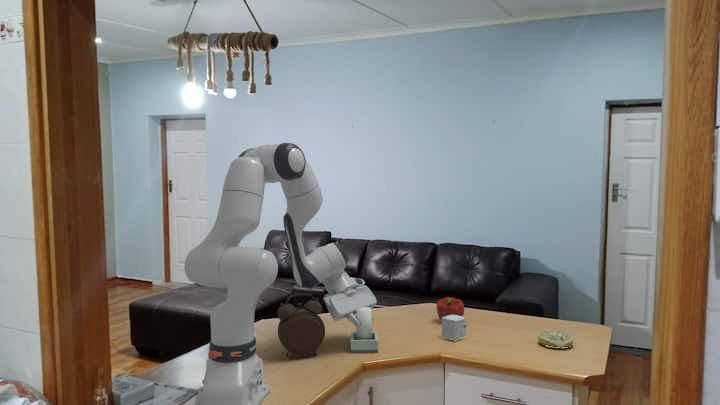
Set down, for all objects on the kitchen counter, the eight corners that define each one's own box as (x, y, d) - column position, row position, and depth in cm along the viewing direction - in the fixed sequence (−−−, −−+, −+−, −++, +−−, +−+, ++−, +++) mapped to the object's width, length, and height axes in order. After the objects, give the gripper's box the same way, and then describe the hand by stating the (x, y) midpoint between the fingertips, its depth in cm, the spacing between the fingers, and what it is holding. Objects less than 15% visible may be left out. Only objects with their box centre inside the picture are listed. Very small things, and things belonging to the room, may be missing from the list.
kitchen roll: (372, 341, 169) (371, 311, 168) (356, 341, 169) (356, 311, 168) (371, 336, 174) (371, 306, 173) (356, 336, 174) (356, 307, 173)
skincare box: (455, 342, 177) (455, 320, 176) (441, 338, 181) (441, 317, 181) (466, 338, 181) (466, 317, 180) (452, 334, 185) (452, 313, 185)
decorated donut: (565, 353, 166) (565, 341, 165) (532, 345, 173) (532, 334, 172) (577, 344, 173) (577, 333, 173) (545, 337, 180) (545, 327, 180)
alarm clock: (319, 348, 172) (318, 288, 170) (326, 356, 165) (325, 293, 163) (275, 355, 166) (274, 293, 165) (280, 363, 160) (279, 298, 158)
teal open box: (377, 352, 167) (377, 340, 167) (351, 353, 167) (350, 340, 167) (376, 343, 176) (376, 331, 176) (351, 343, 176) (351, 332, 176)
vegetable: (463, 327, 192) (463, 300, 192) (435, 325, 195) (435, 299, 194) (464, 319, 203) (464, 293, 202) (437, 317, 205) (437, 292, 205)
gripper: (326, 289, 166) (350, 325, 161) (365, 278, 182) (389, 310, 177) (316, 301, 170) (339, 337, 164) (356, 289, 185) (378, 321, 180)
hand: (365, 323), depth 171 cm, fingers closed on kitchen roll, 5 cm apart
